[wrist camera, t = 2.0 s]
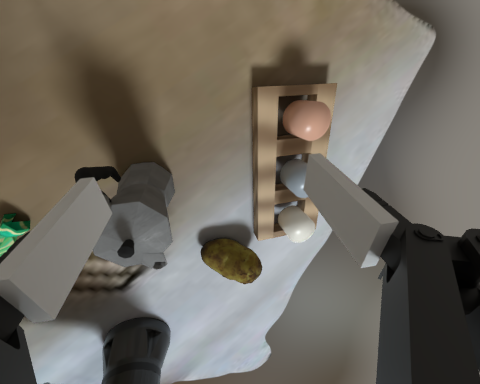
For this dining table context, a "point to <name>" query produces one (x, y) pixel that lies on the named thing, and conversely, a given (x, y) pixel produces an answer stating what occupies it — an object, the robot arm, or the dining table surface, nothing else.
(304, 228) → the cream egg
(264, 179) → the wooden egg rack
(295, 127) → the pink egg
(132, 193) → the coffeepot
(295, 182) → the slate egg
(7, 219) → the candy
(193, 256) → the dining table surface
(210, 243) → the potato
